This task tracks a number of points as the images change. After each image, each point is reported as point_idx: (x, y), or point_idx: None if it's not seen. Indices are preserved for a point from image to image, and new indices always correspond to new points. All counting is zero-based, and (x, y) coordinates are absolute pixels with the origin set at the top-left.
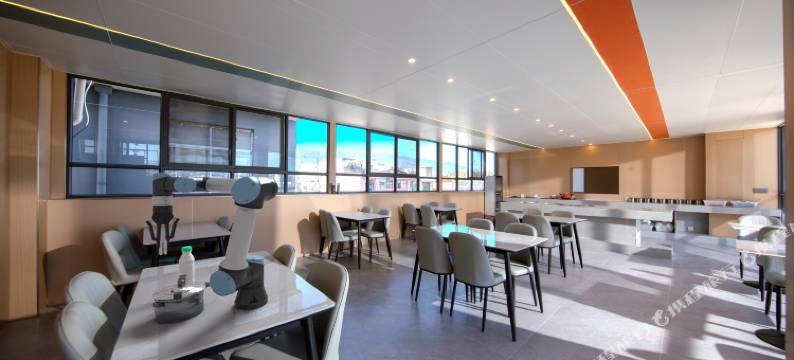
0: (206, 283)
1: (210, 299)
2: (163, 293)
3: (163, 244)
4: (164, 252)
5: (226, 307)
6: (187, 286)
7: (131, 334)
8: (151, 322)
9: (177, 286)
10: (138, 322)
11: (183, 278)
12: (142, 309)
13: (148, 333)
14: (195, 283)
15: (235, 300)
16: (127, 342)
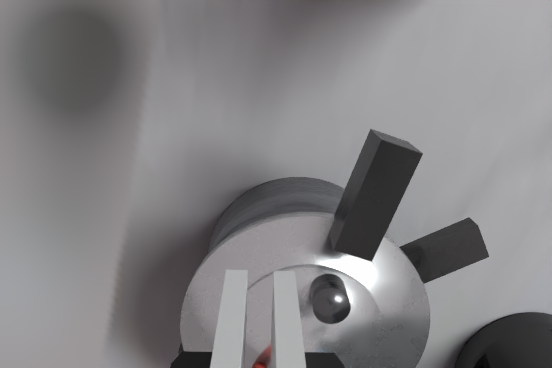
0: (465, 252)
1: (453, 185)
2: None
3: (275, 360)
4: (272, 329)
5: (441, 331)
6: (344, 333)
7: (129, 308)
8: (196, 254)
9: (308, 291)
10: (158, 213)
11: (366, 249)
12: (191, 46)
13: (173, 342)
14: (402, 287)
15: (479, 362)
16: (115, 359)
